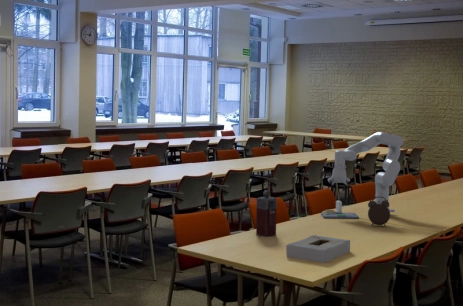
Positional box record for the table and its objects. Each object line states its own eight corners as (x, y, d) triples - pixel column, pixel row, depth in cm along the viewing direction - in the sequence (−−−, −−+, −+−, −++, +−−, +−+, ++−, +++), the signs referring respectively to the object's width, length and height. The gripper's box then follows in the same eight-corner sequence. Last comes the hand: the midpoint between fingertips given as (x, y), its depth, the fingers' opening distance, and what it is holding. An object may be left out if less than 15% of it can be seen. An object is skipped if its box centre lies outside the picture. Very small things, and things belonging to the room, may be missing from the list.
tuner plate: (354, 214, 457) (355, 211, 457) (358, 218, 441) (358, 215, 441) (321, 214, 458) (321, 210, 458) (323, 218, 442) (323, 214, 442)
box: (312, 246, 356) (285, 257, 330) (313, 233, 356) (286, 243, 329) (350, 253, 343) (325, 264, 317) (351, 239, 343) (325, 249, 316)
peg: (340, 212, 458) (340, 200, 457) (343, 213, 452) (343, 201, 451) (323, 212, 455) (324, 201, 454) (326, 214, 449) (327, 202, 448)
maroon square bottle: (269, 237, 377) (269, 192, 375) (255, 234, 385) (256, 190, 383) (278, 235, 383) (279, 190, 381) (265, 232, 391) (266, 188, 389)
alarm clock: (388, 225, 419) (389, 196, 418) (390, 227, 412) (391, 197, 410) (366, 224, 421) (367, 195, 419) (368, 226, 413) (368, 197, 412)
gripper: (348, 166, 457) (347, 189, 459) (326, 166, 453) (325, 189, 455) (352, 167, 450) (351, 191, 452) (330, 167, 446) (329, 191, 447)
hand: (338, 190), depth 453 cm, fingers open, 9 cm apart
